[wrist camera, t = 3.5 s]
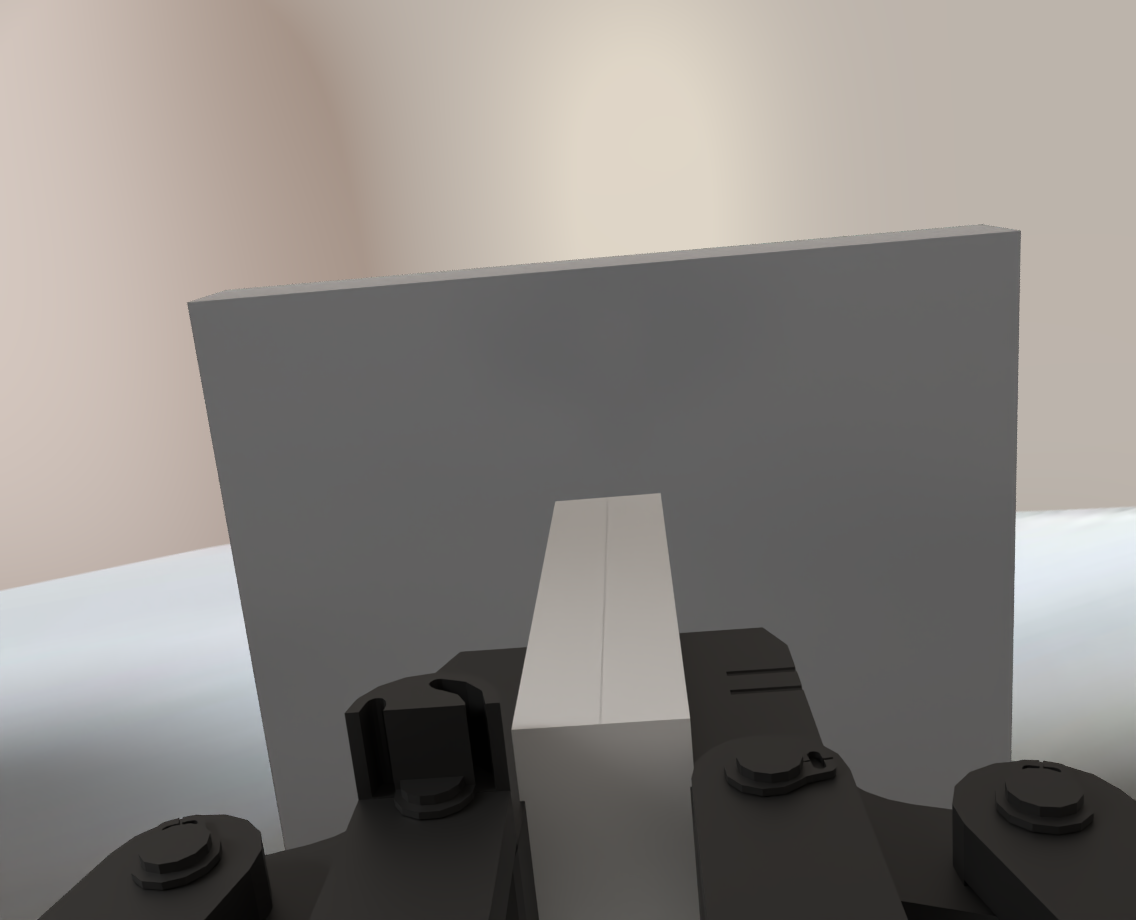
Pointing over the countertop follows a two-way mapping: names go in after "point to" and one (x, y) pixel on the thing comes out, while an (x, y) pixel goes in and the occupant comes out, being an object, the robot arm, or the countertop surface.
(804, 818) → the robot arm
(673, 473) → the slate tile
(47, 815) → the countertop surface
